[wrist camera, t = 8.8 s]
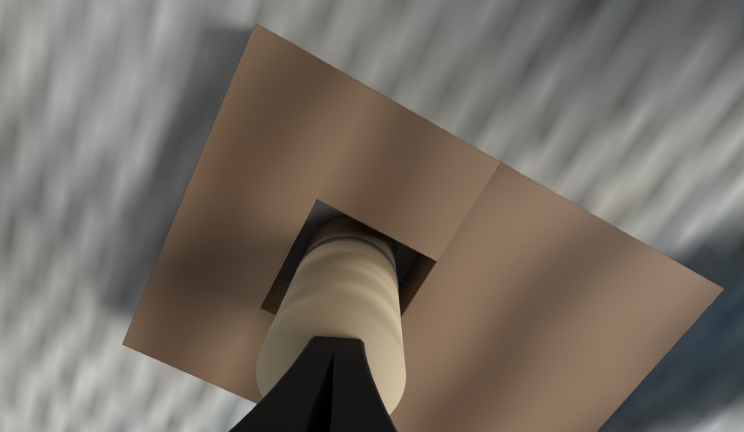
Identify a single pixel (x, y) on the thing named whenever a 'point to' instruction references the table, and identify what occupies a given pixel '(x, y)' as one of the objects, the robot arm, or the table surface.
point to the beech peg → (341, 306)
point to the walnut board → (429, 272)
